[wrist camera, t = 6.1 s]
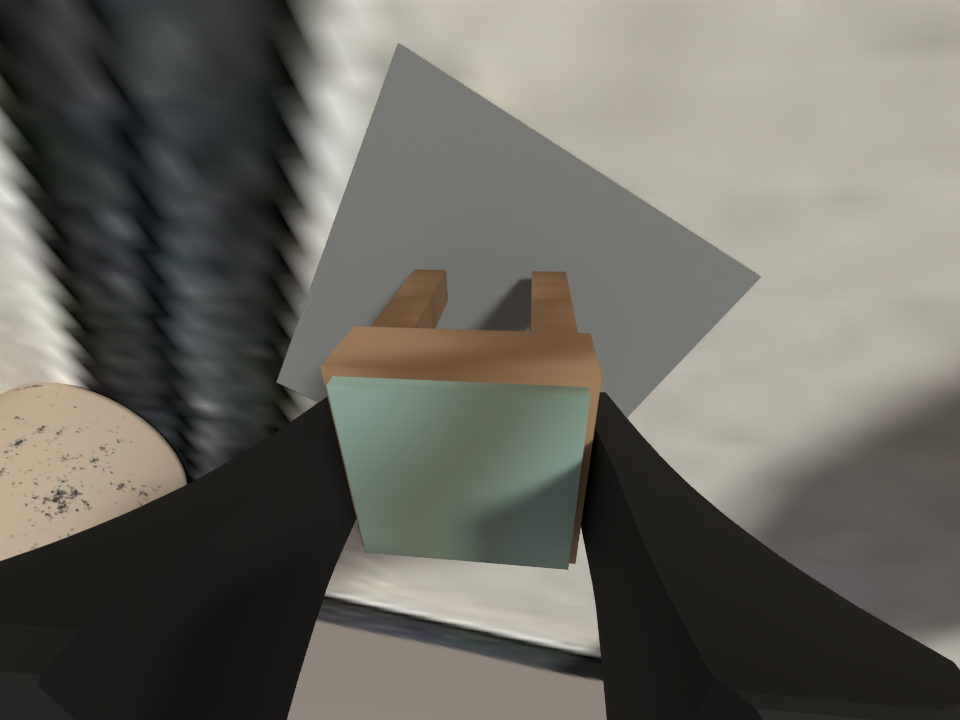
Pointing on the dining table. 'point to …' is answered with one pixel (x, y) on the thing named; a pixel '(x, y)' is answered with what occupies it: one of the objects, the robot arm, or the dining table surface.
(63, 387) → the teacup with lid
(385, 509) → the stool
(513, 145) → the mat
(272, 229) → the dining table surface
